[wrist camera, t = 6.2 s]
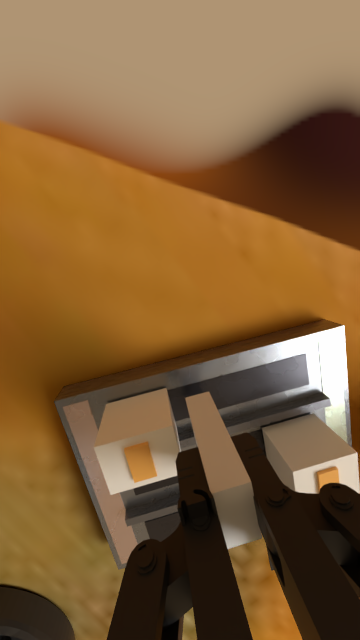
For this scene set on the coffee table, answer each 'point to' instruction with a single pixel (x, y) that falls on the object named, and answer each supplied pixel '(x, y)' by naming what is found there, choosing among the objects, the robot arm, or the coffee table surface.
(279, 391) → the panel
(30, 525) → the coffee table surface
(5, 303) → the coffee table surface
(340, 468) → the breaker
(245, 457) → the robot arm
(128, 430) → the breaker
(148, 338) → the coffee table surface
